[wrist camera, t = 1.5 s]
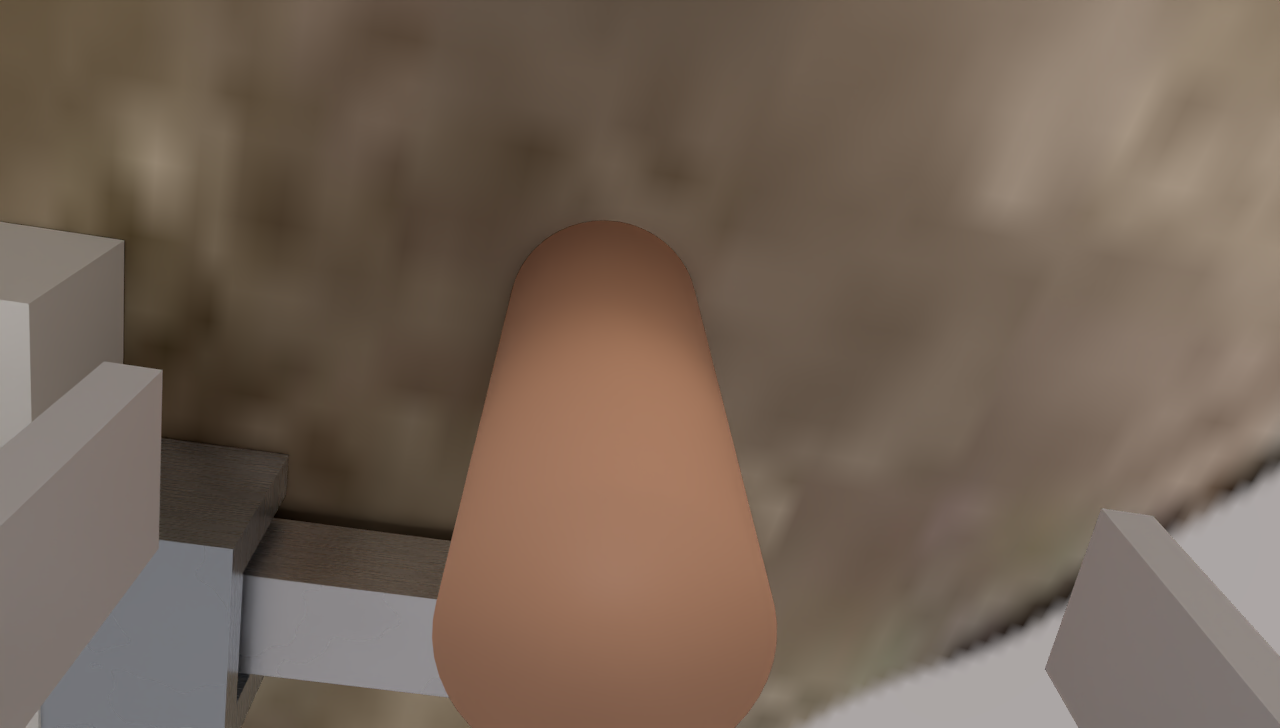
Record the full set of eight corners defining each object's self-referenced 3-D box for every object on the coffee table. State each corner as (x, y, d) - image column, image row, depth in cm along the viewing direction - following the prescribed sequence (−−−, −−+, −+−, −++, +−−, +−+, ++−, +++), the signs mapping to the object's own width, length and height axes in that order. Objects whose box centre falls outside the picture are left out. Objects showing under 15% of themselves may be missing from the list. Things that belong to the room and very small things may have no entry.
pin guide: (120, 630, 27) (41, 748, 23) (122, 432, 25) (36, 524, 21) (275, 649, 27) (222, 768, 23) (288, 454, 25) (232, 549, 22)
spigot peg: (499, 384, 25) (415, 759, 14) (522, 207, 24) (451, 464, 12) (678, 409, 25) (740, 795, 14) (713, 236, 24) (810, 511, 13)
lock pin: (172, 611, 26) (124, 687, 24) (175, 489, 25) (125, 554, 23) (601, 664, 27) (601, 743, 25) (622, 547, 26) (625, 617, 23)
